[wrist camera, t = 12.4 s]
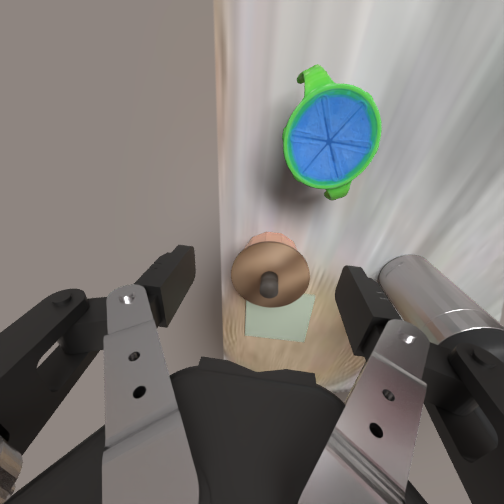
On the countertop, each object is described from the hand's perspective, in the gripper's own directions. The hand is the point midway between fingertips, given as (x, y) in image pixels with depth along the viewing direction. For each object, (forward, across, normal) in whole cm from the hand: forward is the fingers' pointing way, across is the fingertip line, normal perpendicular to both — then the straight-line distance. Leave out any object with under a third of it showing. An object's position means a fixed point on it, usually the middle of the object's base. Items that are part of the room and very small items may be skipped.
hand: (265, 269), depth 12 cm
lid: (+22, -1, +16) cm, 27 cm away
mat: (+28, -5, +32) cm, 43 cm away
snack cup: (+28, -6, -6) cm, 30 cm away
